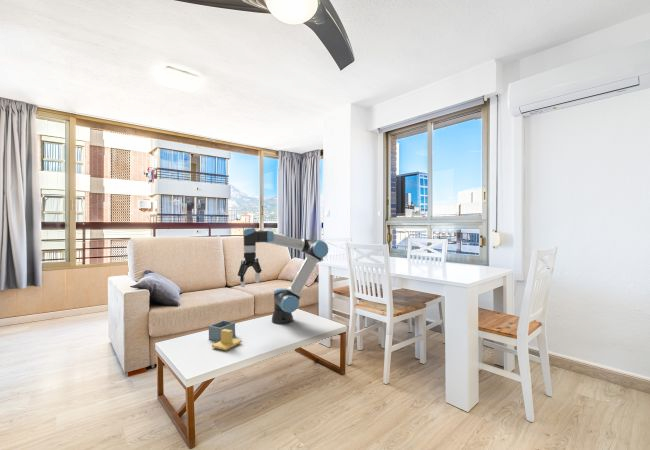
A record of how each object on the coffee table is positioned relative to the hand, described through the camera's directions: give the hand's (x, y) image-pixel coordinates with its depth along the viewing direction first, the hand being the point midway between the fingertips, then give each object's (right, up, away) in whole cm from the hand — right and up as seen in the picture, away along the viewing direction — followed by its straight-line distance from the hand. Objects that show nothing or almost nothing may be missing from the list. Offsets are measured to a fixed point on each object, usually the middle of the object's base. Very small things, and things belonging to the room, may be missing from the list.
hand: (250, 284), depth 200 cm
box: (-15, -31, -8) cm, 36 cm away
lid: (-8, -30, -22) cm, 38 cm away
